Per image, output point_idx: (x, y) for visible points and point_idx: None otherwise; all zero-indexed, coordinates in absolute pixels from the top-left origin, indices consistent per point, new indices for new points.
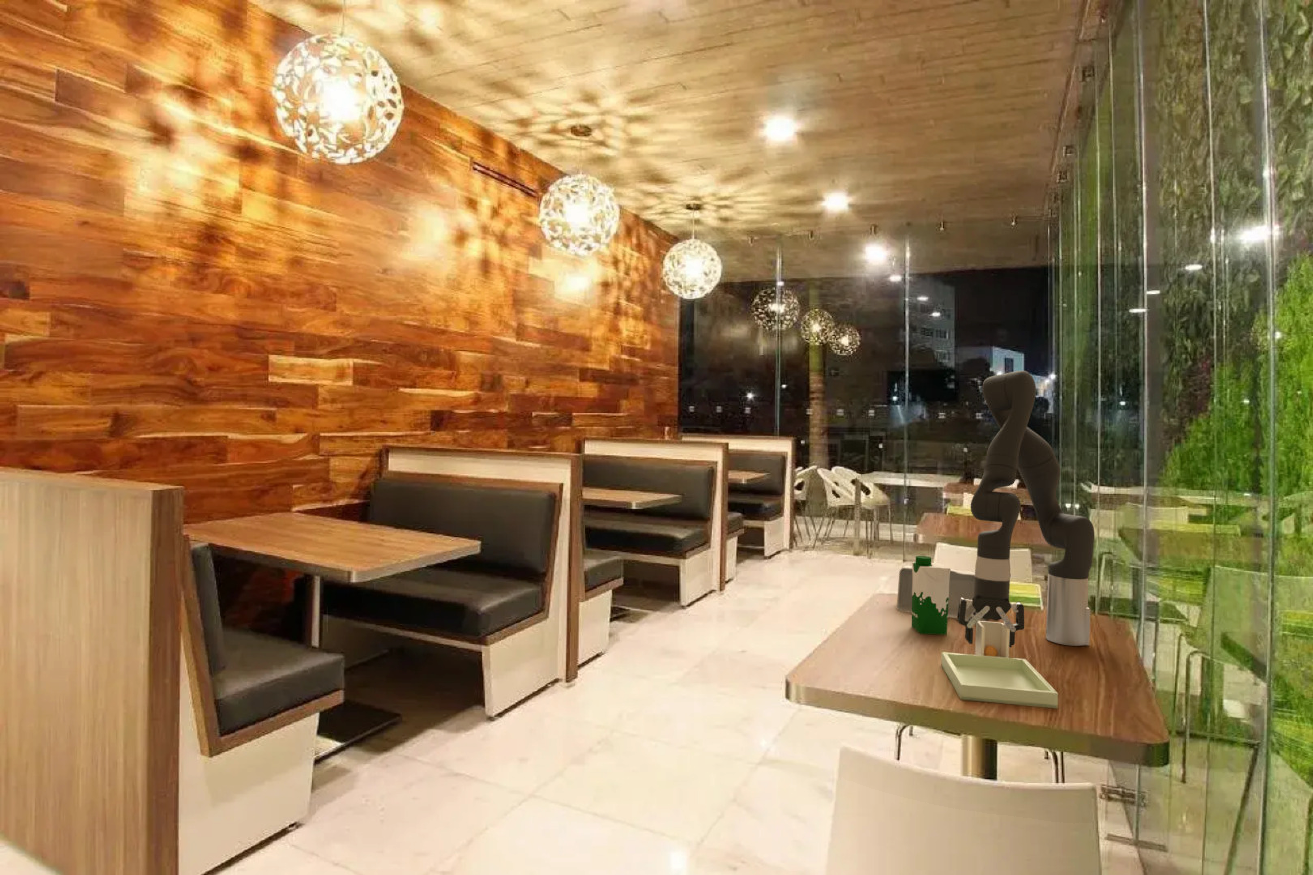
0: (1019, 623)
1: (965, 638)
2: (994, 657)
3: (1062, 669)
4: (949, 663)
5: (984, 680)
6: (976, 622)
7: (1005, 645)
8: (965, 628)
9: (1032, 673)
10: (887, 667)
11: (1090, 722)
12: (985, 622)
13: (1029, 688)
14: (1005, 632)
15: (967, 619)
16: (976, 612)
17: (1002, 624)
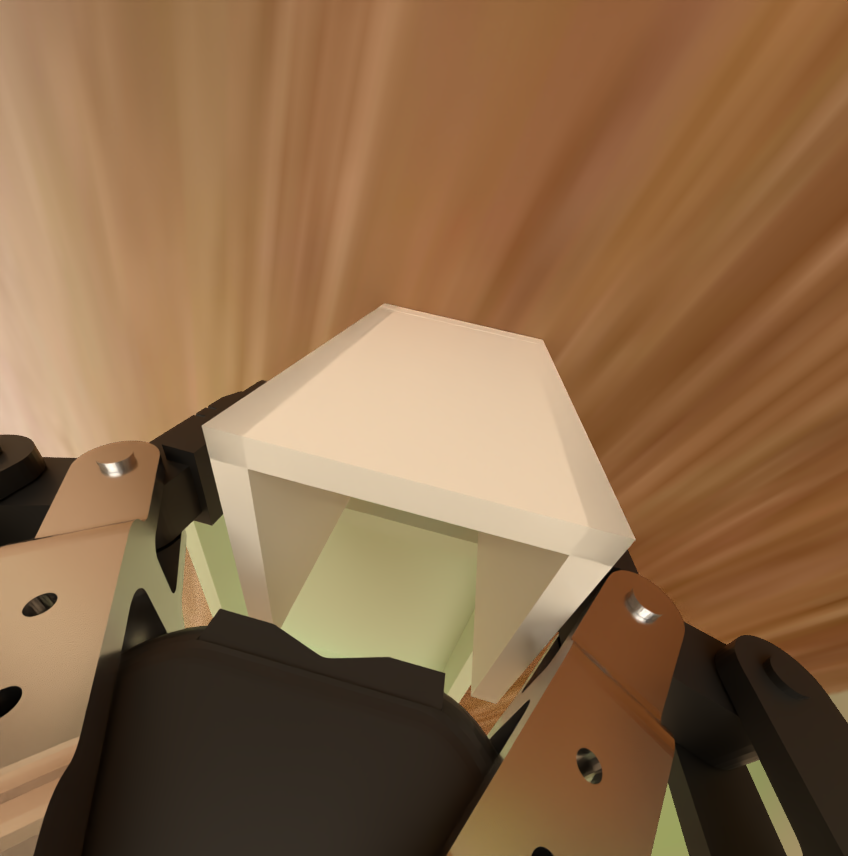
0: (680, 791)
1: (232, 397)
2: (392, 533)
3: (816, 489)
4: (196, 565)
5: (324, 581)
6: (223, 436)
7: (484, 535)
8: (156, 442)
9: (472, 643)
10: (38, 442)
11: (473, 717)
12: (338, 487)
13: (435, 633)
14: (485, 623)
15: (60, 500)
16: (32, 660)
17: (539, 602)
